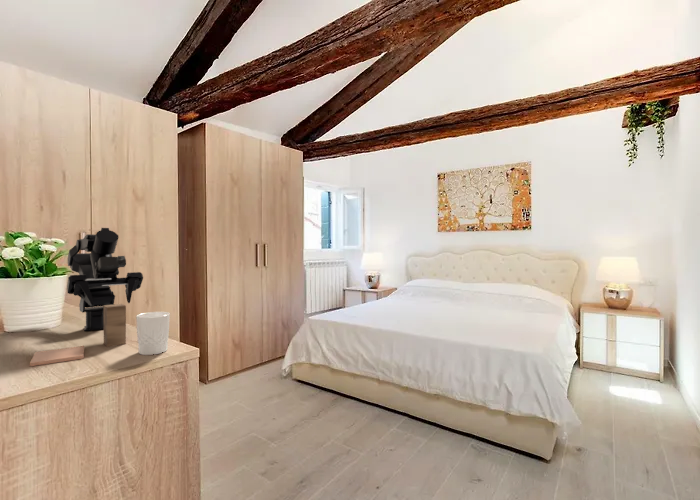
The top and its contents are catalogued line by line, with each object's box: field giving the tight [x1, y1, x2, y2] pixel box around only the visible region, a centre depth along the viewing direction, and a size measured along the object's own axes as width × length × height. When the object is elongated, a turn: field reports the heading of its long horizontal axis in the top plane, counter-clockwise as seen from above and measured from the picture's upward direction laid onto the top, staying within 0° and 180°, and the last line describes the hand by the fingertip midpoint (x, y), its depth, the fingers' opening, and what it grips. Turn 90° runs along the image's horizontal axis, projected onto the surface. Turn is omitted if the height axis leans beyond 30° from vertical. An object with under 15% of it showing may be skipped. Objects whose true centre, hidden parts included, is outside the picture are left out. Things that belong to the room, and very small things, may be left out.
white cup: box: [135, 311, 171, 356], centre depth 94 cm, size 8×8×10 cm
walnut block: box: [103, 303, 127, 348], centre depth 101 cm, size 4×4×11 cm
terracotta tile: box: [29, 345, 85, 367], centre depth 89 cm, size 10×10×1 cm
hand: (111, 304), depth 104 cm, fingers open, 9 cm apart
